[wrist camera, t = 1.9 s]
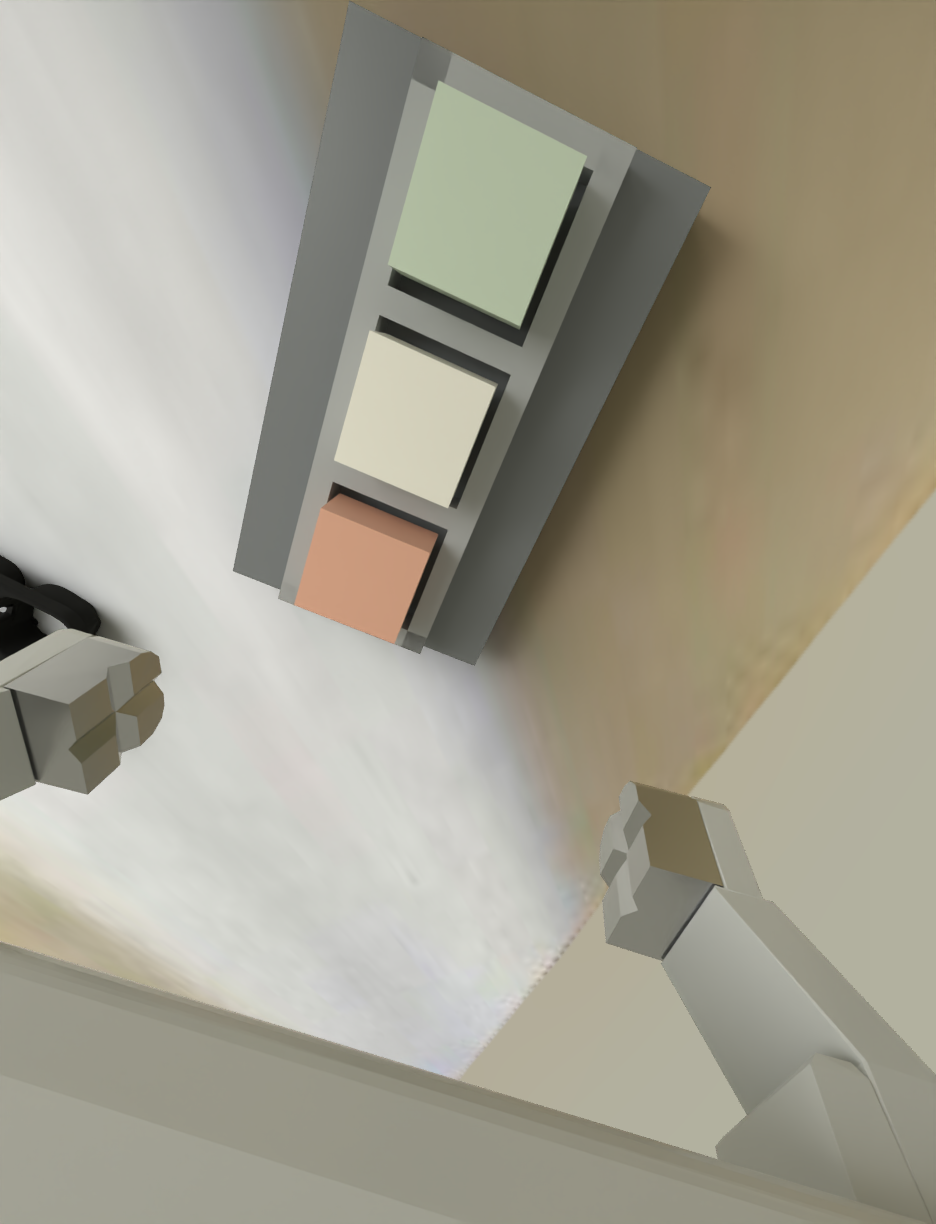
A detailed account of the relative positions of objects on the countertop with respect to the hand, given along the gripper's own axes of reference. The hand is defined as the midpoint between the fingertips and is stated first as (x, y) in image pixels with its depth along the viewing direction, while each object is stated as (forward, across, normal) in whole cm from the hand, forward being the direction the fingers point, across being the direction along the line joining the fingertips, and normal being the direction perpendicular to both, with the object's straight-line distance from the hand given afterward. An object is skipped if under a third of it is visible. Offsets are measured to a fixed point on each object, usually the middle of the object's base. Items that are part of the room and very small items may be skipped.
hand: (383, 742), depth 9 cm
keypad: (+24, +5, -2) cm, 25 cm away
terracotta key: (+19, +6, +6) cm, 21 cm away
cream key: (+20, +4, -2) cm, 20 cm away
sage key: (+20, +3, -10) cm, 22 cm away
